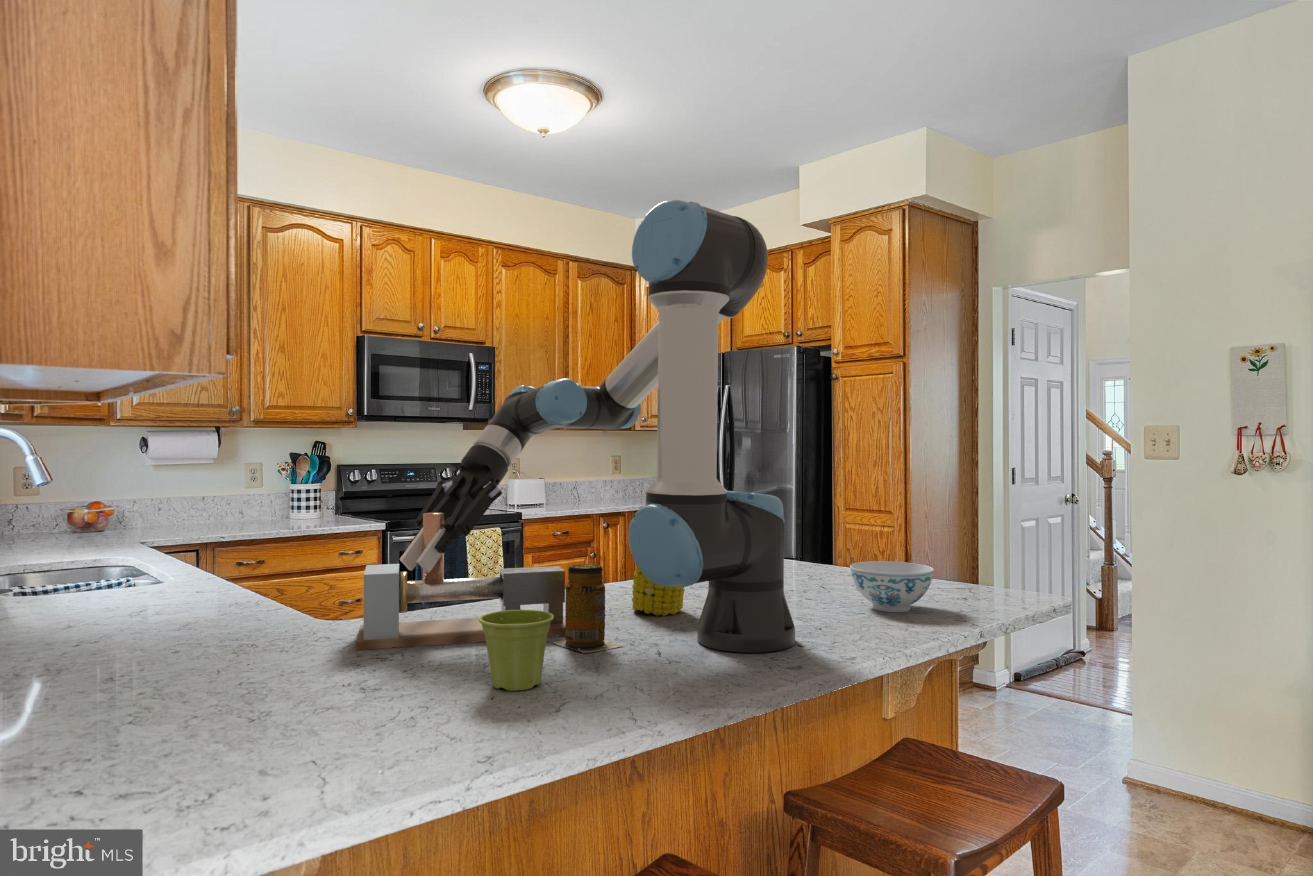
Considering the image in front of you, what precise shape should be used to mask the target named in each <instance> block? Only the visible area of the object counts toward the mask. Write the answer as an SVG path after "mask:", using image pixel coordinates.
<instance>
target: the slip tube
mask: <svg viewBox="0 0 1313 876" xmlns="http://www.w3.org/2000/svg"><path fill="white" fill-rule="evenodd" d="M442 524H445V522H444V513H424V514H423V551H424V550H425V548H426V547H427V546H428V544H429V543H430V541H431V540H432V539H433V537H434V536H435V534H436V533H437V531H438V530H439V529H443V530H444V531H445V529H444V527H443V526H442ZM444 556H445V552H444V553H443V554H442V555H441V556H440V558H439V559H438V561H437V562H436V564H435V565H434V567H433V568H432V570H431V571H430V572H429V573H428V572H425V570H424V569H423V568H422V580H408V571H400V577H399V614H403V613H404V614H407V613H408V604H409V603H410V604H411V603H412V604H413V603H415V604H416V603H428V602H429V603H431V602H447V601H466V600H468V601H469V600H483V599H484V600H486V599H487V600H488V599H500V598H503V577H500V576H486V577H485V576H484V577H483V576H482V577H465V578H446V579H445V575H444V574H445V573H444V572H445V569H444V568H445V567H444V565H445V557H444Z"/></svg>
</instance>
